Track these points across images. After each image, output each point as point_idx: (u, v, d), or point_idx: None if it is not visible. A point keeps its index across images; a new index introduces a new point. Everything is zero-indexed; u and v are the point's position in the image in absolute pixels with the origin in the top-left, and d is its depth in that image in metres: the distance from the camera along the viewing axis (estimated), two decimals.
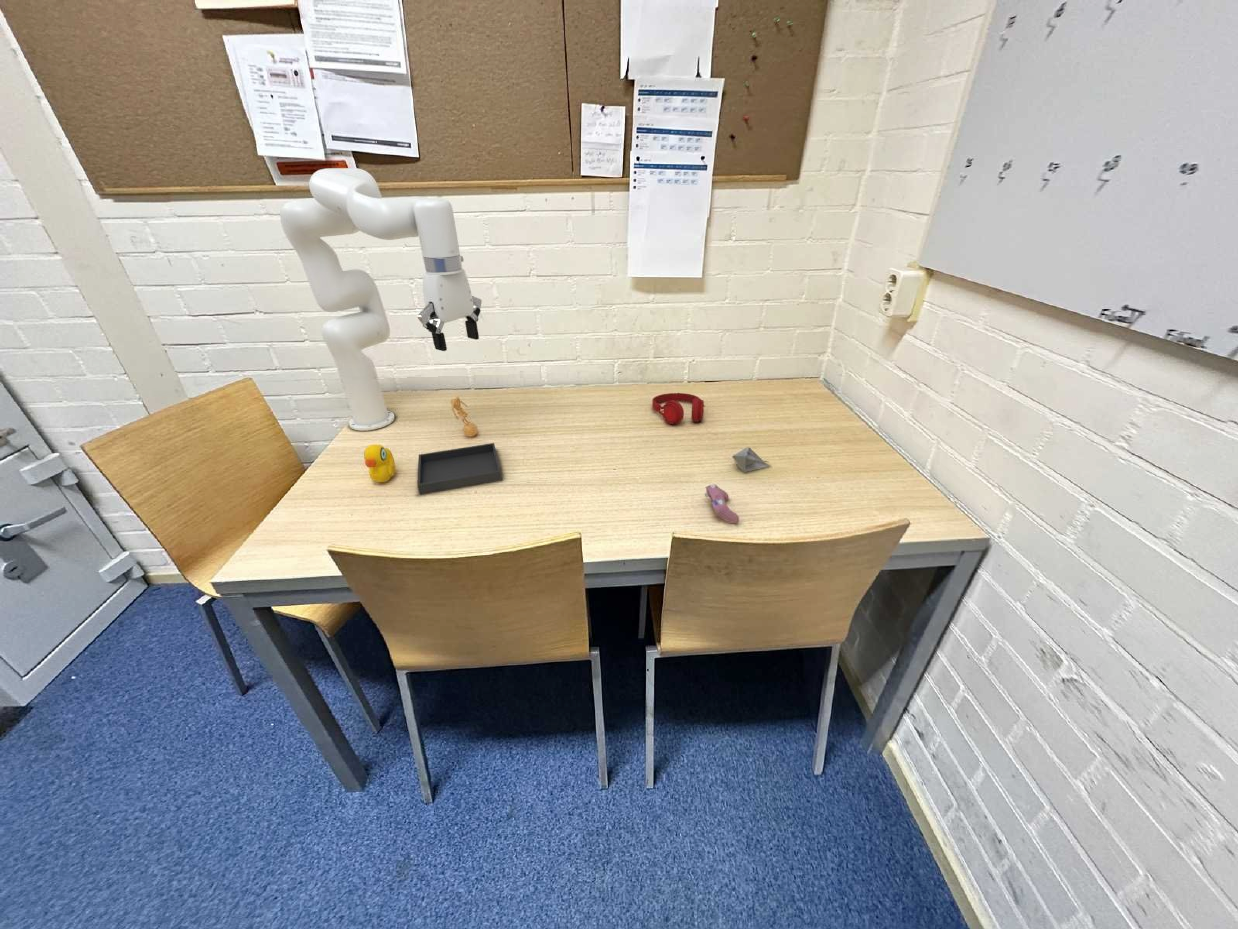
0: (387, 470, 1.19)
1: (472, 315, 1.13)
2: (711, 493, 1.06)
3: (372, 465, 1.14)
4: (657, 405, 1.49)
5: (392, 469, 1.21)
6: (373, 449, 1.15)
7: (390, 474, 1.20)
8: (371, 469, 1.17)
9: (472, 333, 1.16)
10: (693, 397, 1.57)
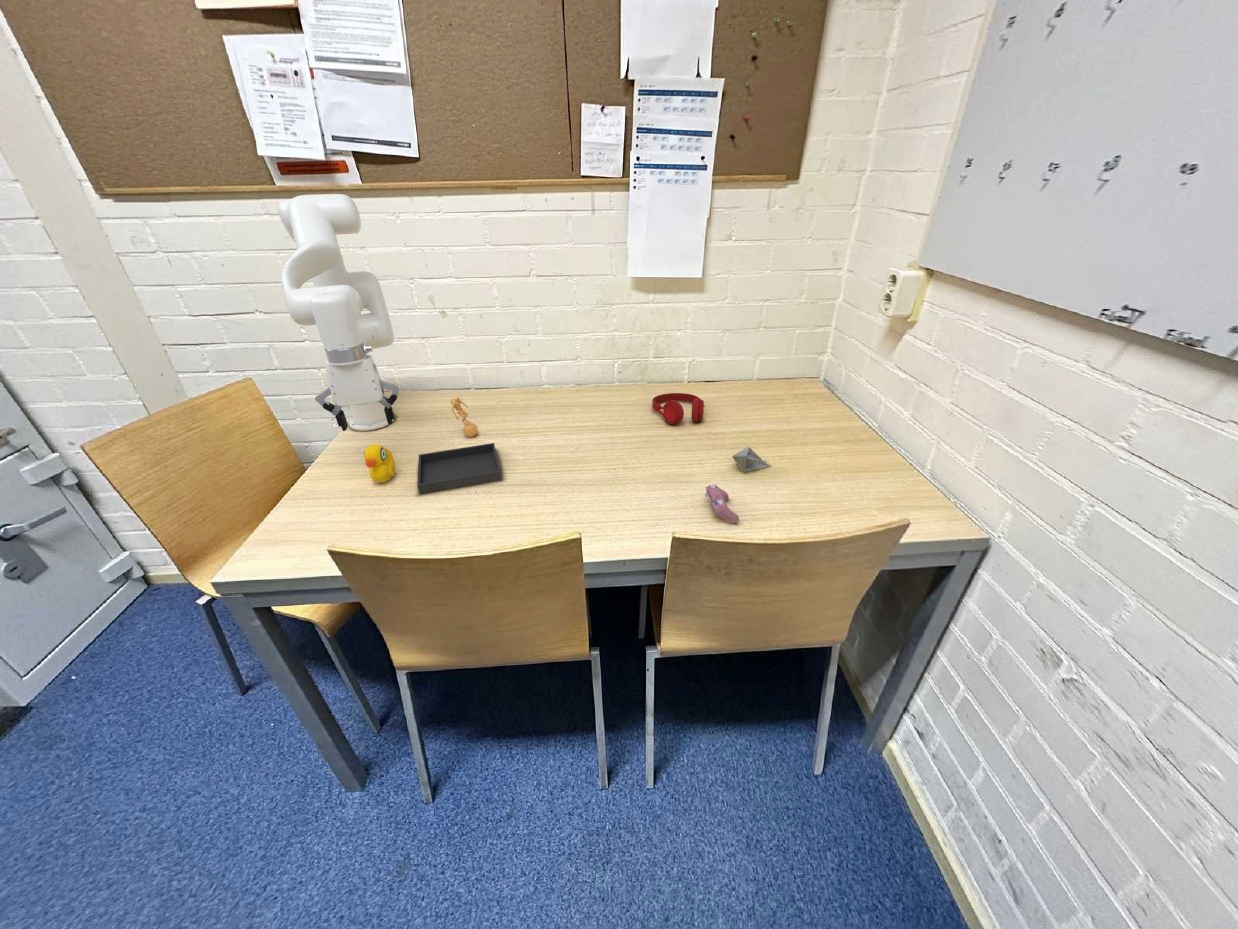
0: (387, 470, 1.19)
1: (382, 402, 1.11)
2: (711, 493, 1.06)
3: (372, 465, 1.14)
4: (657, 405, 1.49)
5: (392, 469, 1.21)
6: (373, 449, 1.15)
7: (390, 474, 1.20)
8: (371, 469, 1.17)
9: None
10: (693, 397, 1.57)
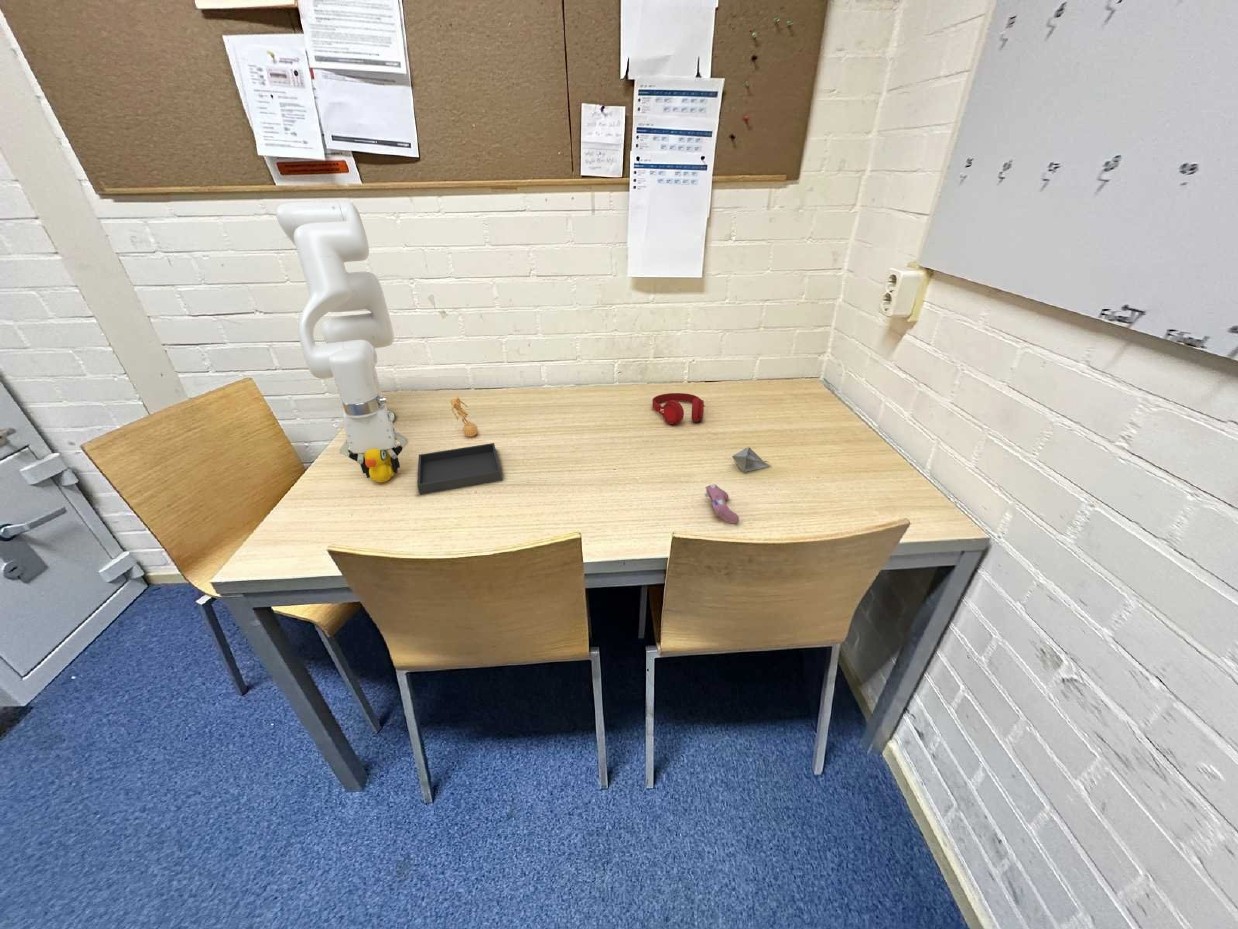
0: (387, 470, 1.19)
1: None
2: (711, 493, 1.06)
3: (372, 465, 1.14)
4: (657, 405, 1.49)
5: (392, 469, 1.21)
6: (373, 450, 1.15)
7: (390, 474, 1.20)
8: (371, 469, 1.17)
9: None
10: (693, 397, 1.57)
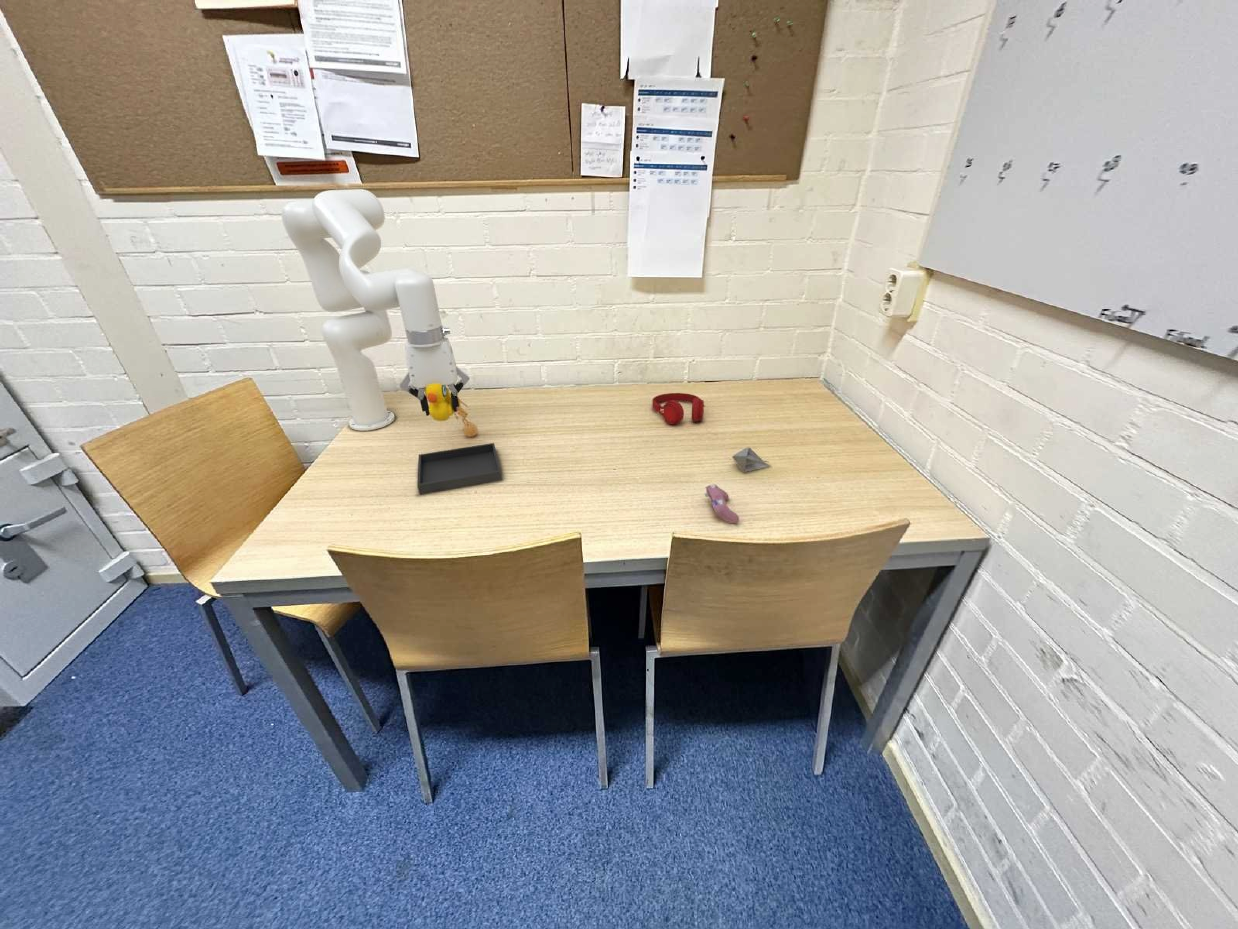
0: (447, 408, 1.14)
1: None
2: (711, 493, 1.06)
3: (434, 400, 1.09)
4: (657, 405, 1.49)
5: (452, 408, 1.15)
6: (435, 384, 1.10)
7: (450, 412, 1.15)
8: (431, 406, 1.12)
9: None
10: (693, 397, 1.57)
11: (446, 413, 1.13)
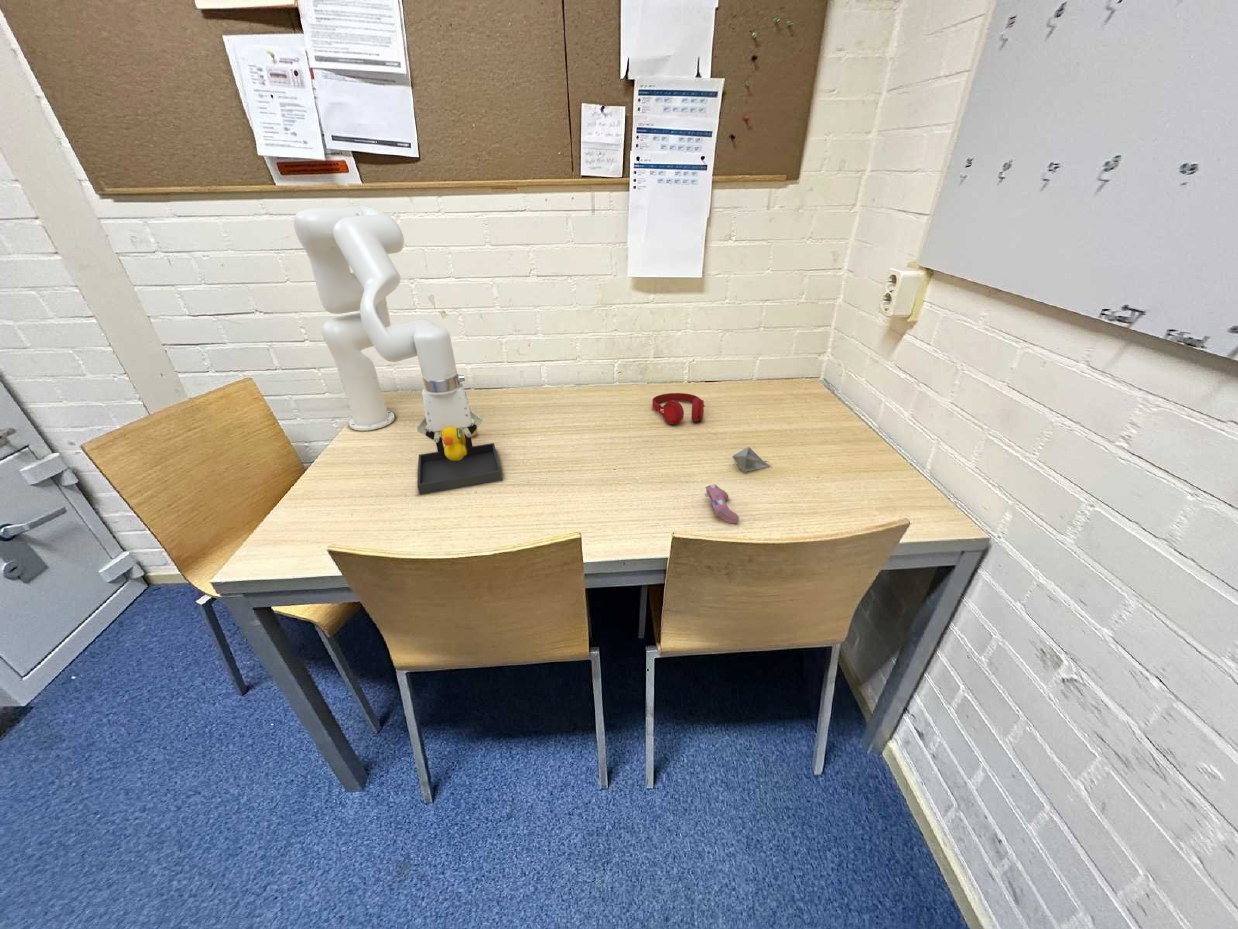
0: (462, 449, 1.20)
1: None
2: (711, 493, 1.06)
3: (450, 443, 1.15)
4: (657, 405, 1.49)
5: (466, 448, 1.21)
6: (450, 428, 1.16)
7: (464, 453, 1.21)
8: (447, 447, 1.18)
9: None
10: (693, 397, 1.57)
11: (460, 454, 1.19)
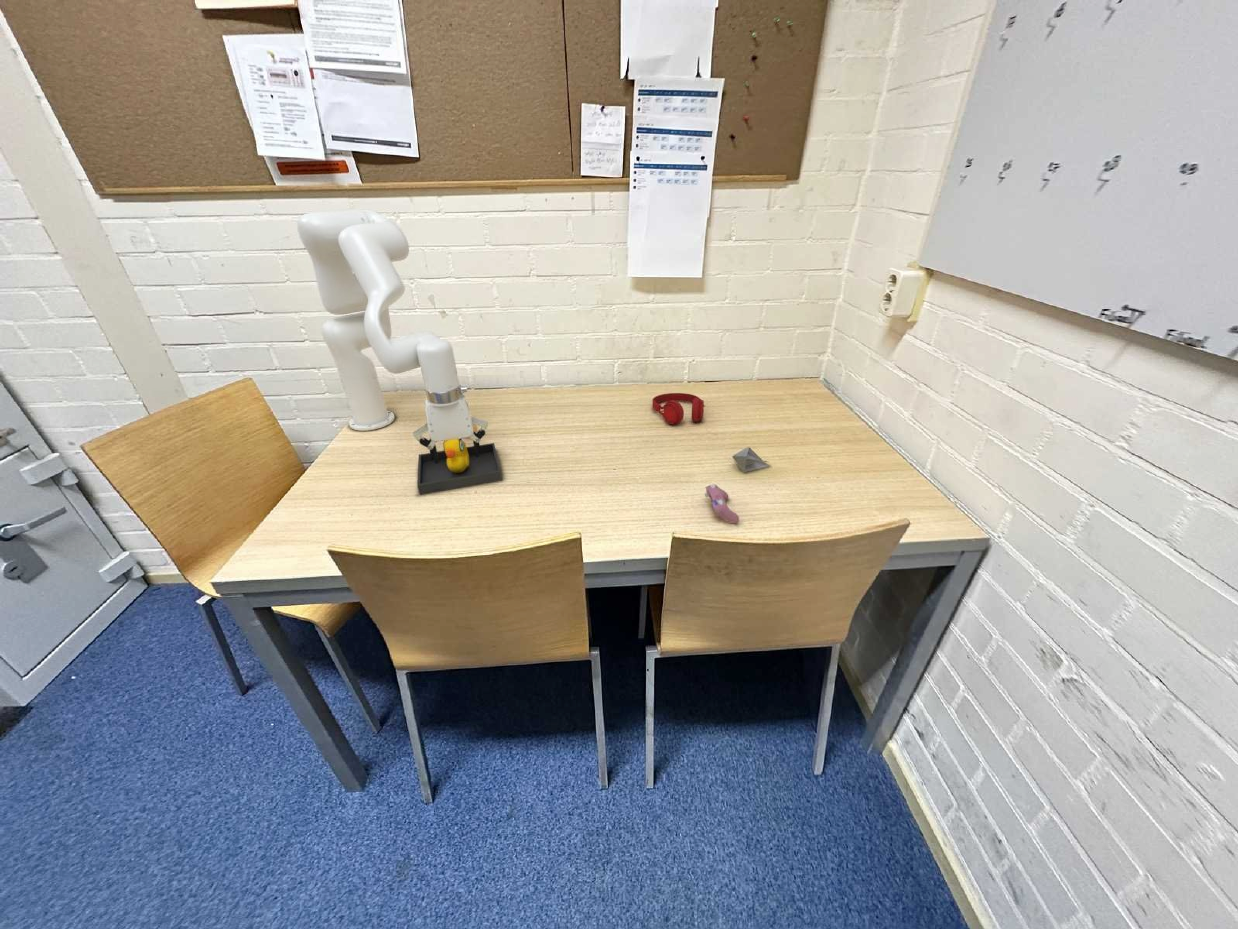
0: (464, 461, 1.21)
1: (472, 437, 1.20)
2: (711, 493, 1.06)
3: (452, 455, 1.17)
4: (657, 405, 1.49)
5: (468, 460, 1.23)
6: (453, 440, 1.18)
7: (466, 465, 1.22)
8: (449, 460, 1.20)
9: None
10: (693, 397, 1.57)
11: (463, 466, 1.21)
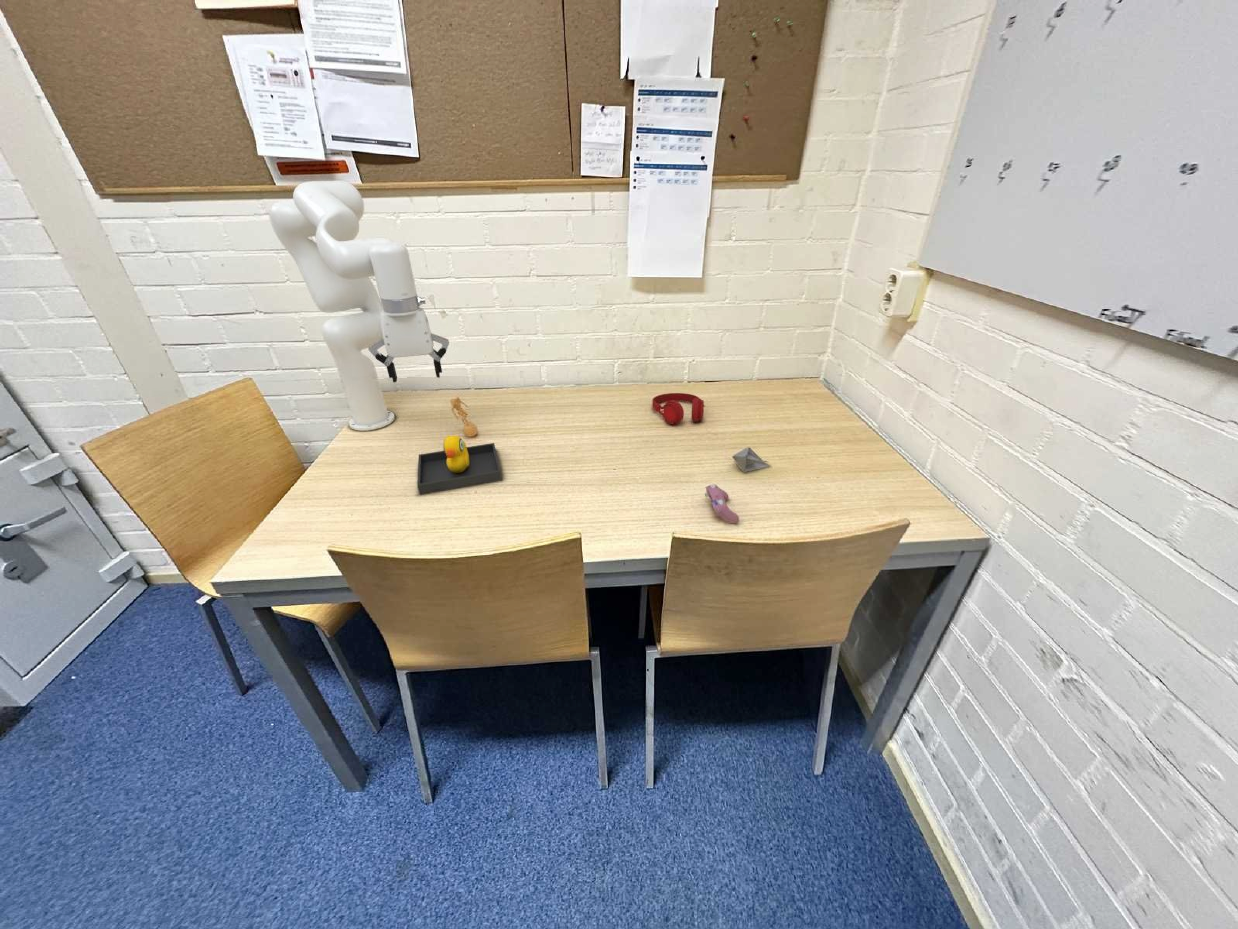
0: (464, 461, 1.21)
1: (432, 354, 1.14)
2: (711, 493, 1.06)
3: (452, 455, 1.17)
4: (657, 405, 1.49)
5: (468, 460, 1.23)
6: (453, 440, 1.18)
7: (466, 465, 1.22)
8: (449, 460, 1.20)
9: None
10: (693, 397, 1.57)
11: (463, 466, 1.21)
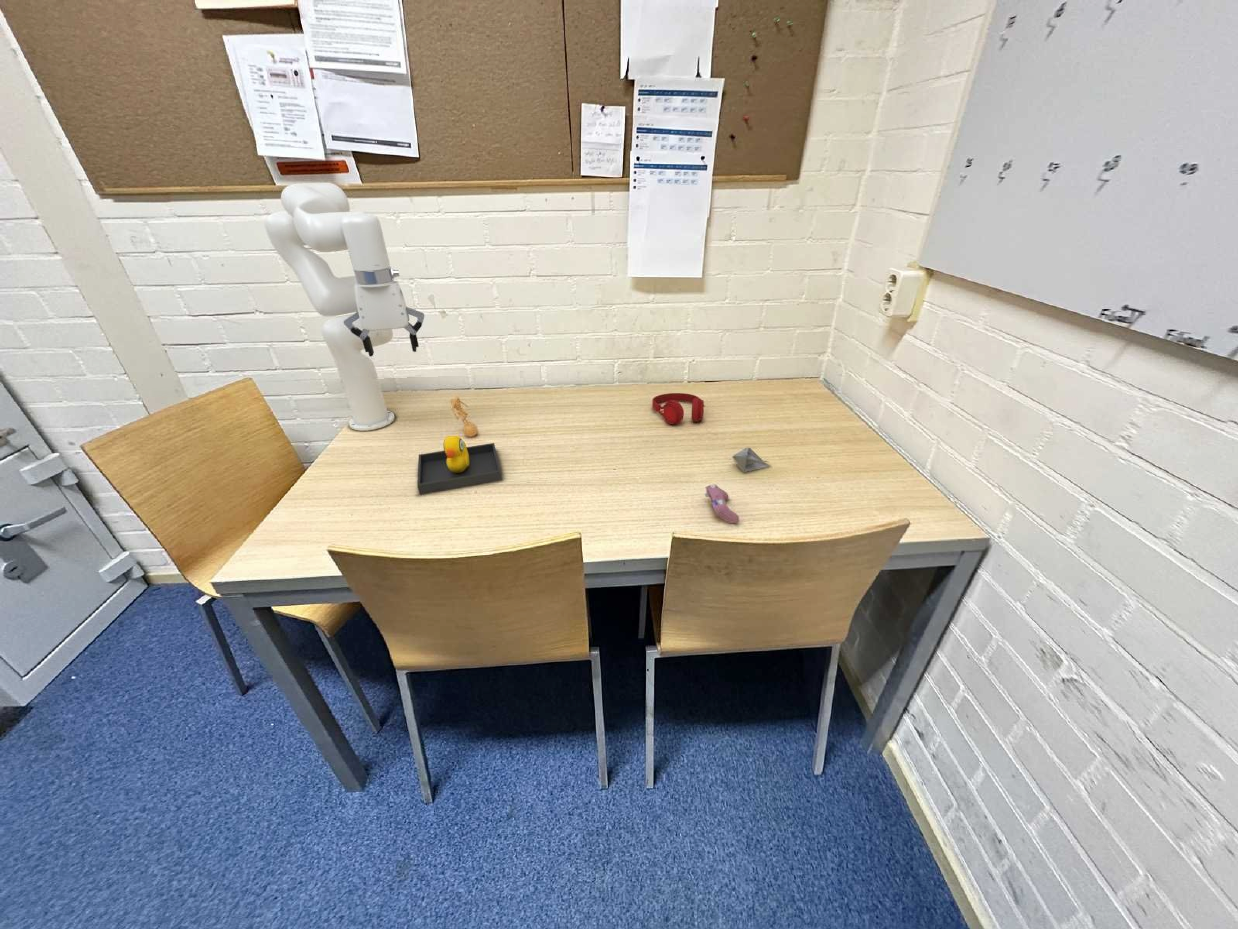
0: (464, 461, 1.21)
1: (407, 328, 1.15)
2: (711, 493, 1.06)
3: (452, 455, 1.17)
4: (657, 405, 1.49)
5: (468, 460, 1.23)
6: (453, 440, 1.18)
7: (466, 465, 1.22)
8: (449, 460, 1.20)
9: None
10: (693, 397, 1.57)
11: (463, 466, 1.21)
